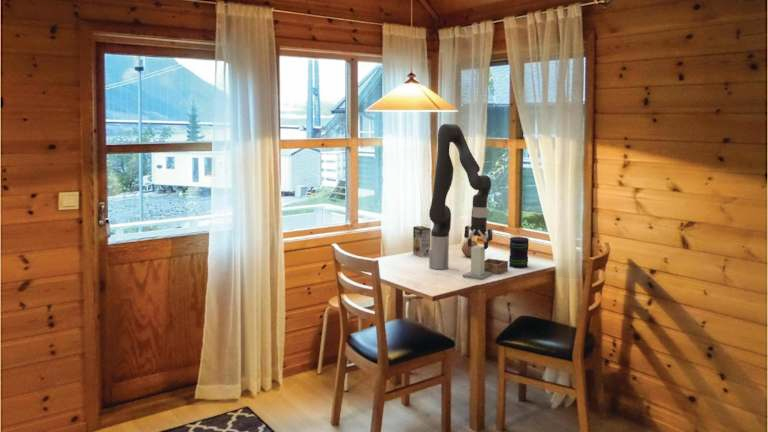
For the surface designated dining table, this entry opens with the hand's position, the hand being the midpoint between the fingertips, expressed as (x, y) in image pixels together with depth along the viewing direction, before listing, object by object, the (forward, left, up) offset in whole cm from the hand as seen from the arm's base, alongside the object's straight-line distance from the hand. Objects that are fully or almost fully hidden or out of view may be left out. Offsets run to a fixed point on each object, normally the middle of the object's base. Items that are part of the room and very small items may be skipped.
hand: (477, 247), depth 328 cm
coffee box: (-48, +27, -15) cm, 57 cm away
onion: (-23, +39, -15) cm, 48 cm away
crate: (+3, +14, -14) cm, 20 cm away
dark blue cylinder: (+9, +32, -15) cm, 36 cm away
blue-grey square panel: (0, 0, -14) cm, 14 cm away
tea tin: (0, 0, -13) cm, 13 cm away
